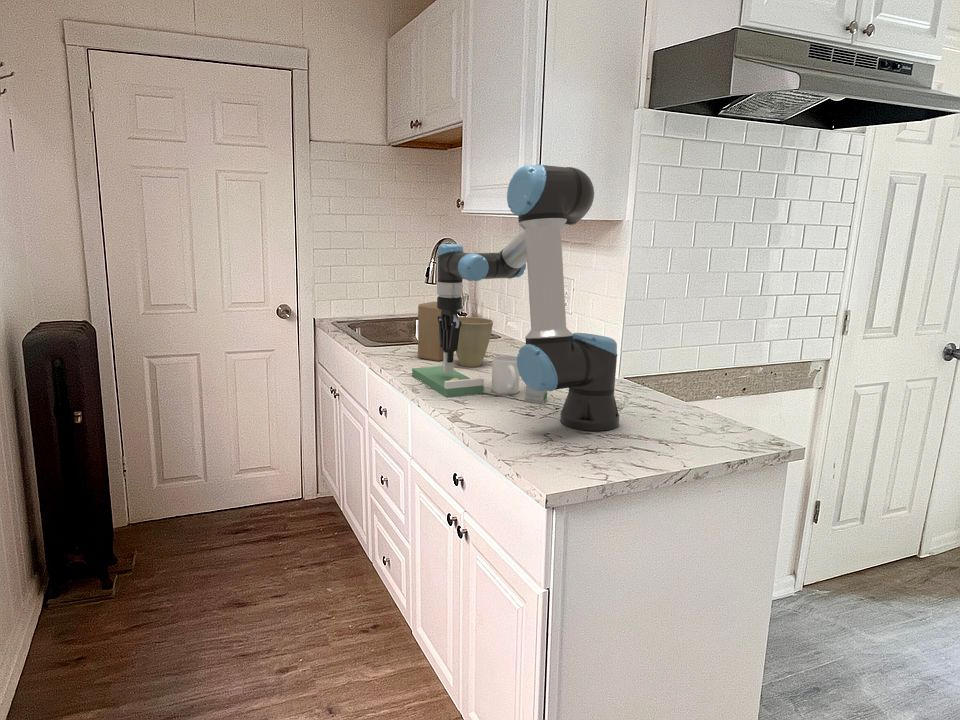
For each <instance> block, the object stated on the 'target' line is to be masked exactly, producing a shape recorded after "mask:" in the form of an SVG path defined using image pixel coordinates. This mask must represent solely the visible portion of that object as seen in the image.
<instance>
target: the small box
mask: <svg viewBox="0 0 960 720" xmlns="http://www.w3.org/2000/svg"><path fill="white" fill-rule="evenodd" d="M547 399H548V391H534V390H532V389H530V388H529V387H528V386H527V385H526V384H525V386H524V400H523V401H524V403H525V402H526V403H536V404H544V402H545V401H546V400H547Z"/></svg>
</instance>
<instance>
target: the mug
mask: <svg viewBox="0 0 960 720" xmlns="http://www.w3.org/2000/svg"><path fill="white" fill-rule="evenodd" d="M491 369H492V370H491V391H492V392H493V393H495V394H497V395H505V396H506V395H515V394H517V393H519V392H520V391H519V390H520V379H521V377H520V374H519V372H518V368H517V356H516V355H507V354H505V355H504V354H503V355H502V354H501V355H495V356H492V365H491Z"/></svg>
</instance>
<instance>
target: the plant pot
mask: <svg viewBox="0 0 960 720" xmlns="http://www.w3.org/2000/svg"><path fill="white" fill-rule="evenodd" d="M460 321H461V323H462V324H461V327H460V333H459V341H458V348H457V351H455V354H456V357H457V359H458V360H457V361H458V363H459V365H460V366H461V367H466V368H477V367H481V365H482V363H483V361H484V358H485V356H486V353H487V349H488V347H489V344H490V340H491V336H492V331H493V325H494V320H492V319H490V318H485V317H473V316H461V317H460V316H458V322H460Z"/></svg>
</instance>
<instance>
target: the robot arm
mask: <svg viewBox="0 0 960 720" xmlns="http://www.w3.org/2000/svg"><path fill="white" fill-rule="evenodd" d="M506 191H507V192H506V201H507V206H508V208H509V211H510V212H511V213H512V214H514V216H515V215H516V216H517V218H518V225H519V227H521V228H522V229H521V231H520V232H519V233H518V234H517V235H516V236H514V238H512V240H511V241H510V242H509V243H507V244H506V246H504V247H503V249H501V250H500V251H499V252H471V253H470V252H464V247H463V245H462V244H460V243H441V244H439V245H438V249H437V250H438V251H437V256H436V258H437V283H436V285H437V286H436V295H438V296H437V297H436V302H437V308H438V309H441V310H442V311H441V316H438V317H437V319H438V323H439V335H440V347H441V348H442V347H443V351H444V359H443V360H442V361H443V363H442V364H443V365H442V366H443V372H444V373H451V372H453V369H454V356H455V353H456V351H457V348H458V341H459V333H460V327H461V324H462V323H461V321H460V322H458V317H459V316H458V311H459V310H461V309H462V308H463V297H462V295H463V288H464V284H463V280H467V281H469V282H472V281H473V282H479V281H481V280H490V279H491V280H492V279H509V280H510V279H515V278H520V277H521V276H523V275H524V273H525V270H527V279H528V282H527V284H528V297H529V299H528V300H529V314H530V315H529V318H530V331H529V332H528V333H527V334H526V335H525V344H524V345H522V346H521V347H520V348H519V349H518V353H517V356H516V357H517V368H518V372H519V374H520V379H521V380H522V382H523V383H524V384H525V386H526V385H527V386H528V387H529V388H530V389H532V390H534V391H547V392H553V391H555V390H557V391H558V390H562V389H568V393H567V395H566V398H565V400H564V404H563V406H562V409H561V411H560V423H561V424H563V425H565V426H566V427H569V428H572V429H576V430H583V431H589V432H590V431H591V432H592V431H593V432H594V431H595V432H597V431H598V432H602V431H609V430H614V429H616V428H618V427H619V426H620V413H619V410H618V406H617V401H616V398H615V388H616V387H615V386H616V384H615V383H616V374H617V373H616V372H617V358H618V345H617V341H616V340H615V339H614V338H612V337H609V336H604V335H598V334H593V333H587V332H586V333H585V332H574V333H573V332H571V331H570V330H569V329H568V327H567V317H566V315H567V314H566V298H565V297H566V295H565V280H564V279H565V278H564V277H565V276H564V263H563V262H564V261H563V260H564V259H563V244H562V243H563V242H562V241H563V240H562V231H564V230H565V228H567V227H568V226H574V225H576V224H578V222H580V221H581V220H582V219H583V218H584V217H585V216H586V215H587V214H588V212H589V211H590V210H591V208H592V206H593V202H594V201H595V200H594V199H595V189H594V184H593V182H592V180H591V178H590V177H589V176H588V175H587V173H585V172H584V171H583V170H581V169H580V168H577V167H572V166H567V167H566V166H555V165H547V164H546V165H544V164H528V165H527V164H526V165H523V166H521V167H519V168H518V169H517V170H516V171H515V172H514V173H513V175H512V177H511V179H510V180H509V184H508V187H507V190H506Z"/></svg>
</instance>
